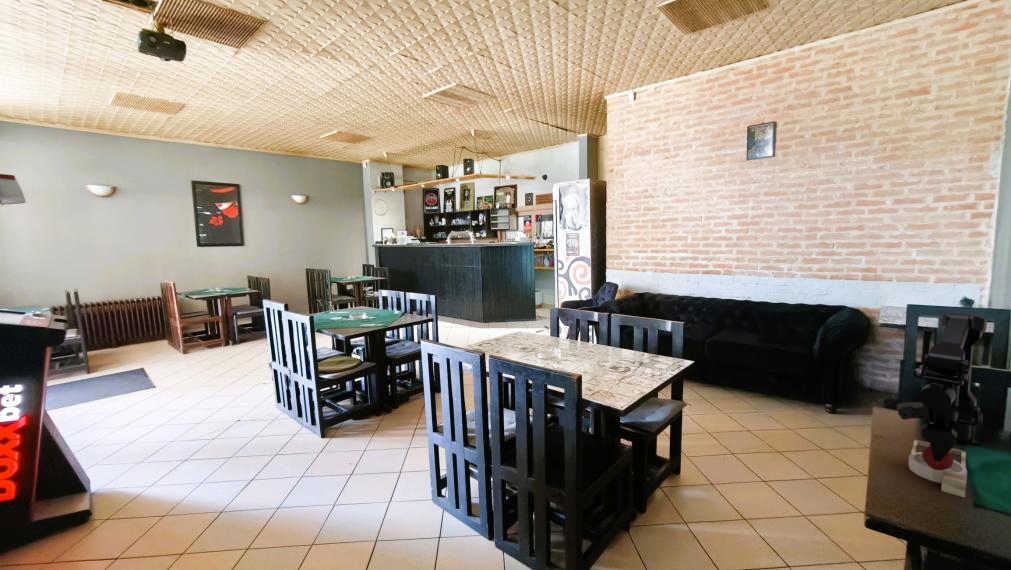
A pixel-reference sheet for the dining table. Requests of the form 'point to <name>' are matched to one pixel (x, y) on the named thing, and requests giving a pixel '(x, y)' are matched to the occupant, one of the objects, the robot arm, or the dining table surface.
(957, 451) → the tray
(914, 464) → the bowl
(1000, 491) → the dining table surface
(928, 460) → the onion
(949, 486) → the maple block
